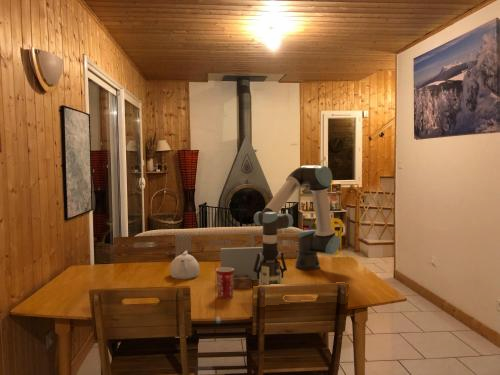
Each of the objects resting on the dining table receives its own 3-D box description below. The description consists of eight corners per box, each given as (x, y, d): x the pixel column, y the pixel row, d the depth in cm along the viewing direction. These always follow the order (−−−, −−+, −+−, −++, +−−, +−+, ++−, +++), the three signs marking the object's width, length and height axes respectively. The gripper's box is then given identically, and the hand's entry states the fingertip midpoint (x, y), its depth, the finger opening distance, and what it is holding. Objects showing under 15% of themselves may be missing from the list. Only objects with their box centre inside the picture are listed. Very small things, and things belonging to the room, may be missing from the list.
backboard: (266, 278, 245) (266, 246, 244) (267, 279, 243) (267, 247, 242) (220, 280, 241) (220, 248, 240) (221, 281, 239) (221, 249, 238)
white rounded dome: (207, 275, 252) (207, 252, 251) (182, 282, 238) (181, 257, 237) (187, 269, 264) (186, 247, 263) (162, 275, 251) (161, 252, 250)
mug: (214, 293, 217) (214, 267, 216) (232, 292, 219) (232, 266, 218) (218, 302, 205) (217, 274, 204) (236, 300, 206) (236, 273, 206)
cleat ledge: (248, 280, 242) (248, 271, 241) (251, 287, 228) (251, 278, 227) (223, 281, 240) (222, 272, 239) (225, 288, 226) (225, 279, 225)
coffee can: (281, 286, 229) (281, 260, 228) (278, 292, 219) (278, 265, 218) (262, 285, 231) (261, 259, 230) (258, 291, 221) (258, 264, 220)
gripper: (289, 240, 229) (289, 281, 230) (247, 241, 225) (247, 283, 227) (293, 242, 221) (293, 285, 223) (249, 244, 218) (249, 287, 220)
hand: (270, 284), depth 225 cm, fingers closed on coffee can, 10 cm apart
